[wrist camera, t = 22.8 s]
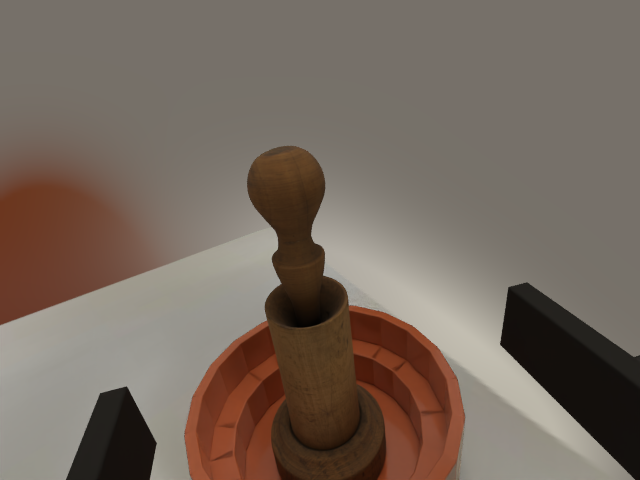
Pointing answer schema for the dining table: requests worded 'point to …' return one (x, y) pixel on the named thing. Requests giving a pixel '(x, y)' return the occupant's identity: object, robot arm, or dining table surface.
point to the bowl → (371, 373)
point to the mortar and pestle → (312, 335)
